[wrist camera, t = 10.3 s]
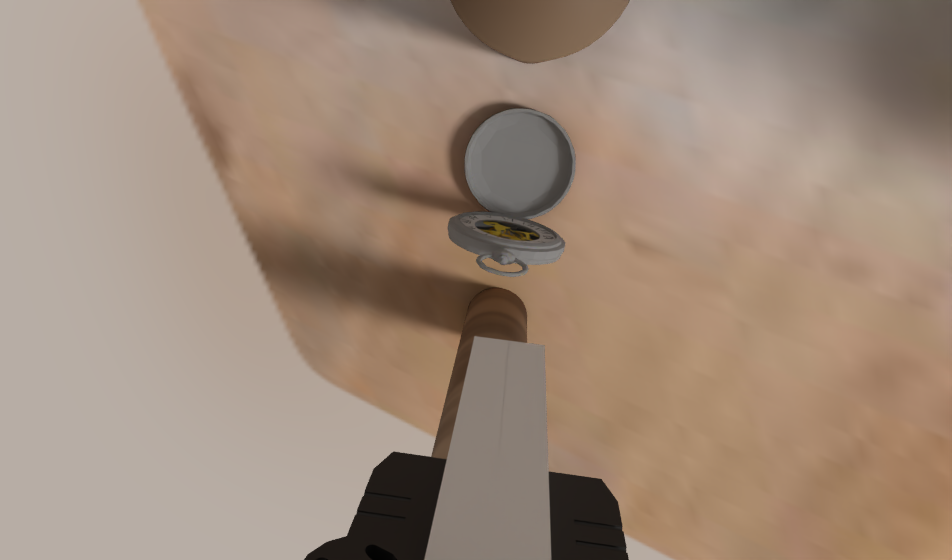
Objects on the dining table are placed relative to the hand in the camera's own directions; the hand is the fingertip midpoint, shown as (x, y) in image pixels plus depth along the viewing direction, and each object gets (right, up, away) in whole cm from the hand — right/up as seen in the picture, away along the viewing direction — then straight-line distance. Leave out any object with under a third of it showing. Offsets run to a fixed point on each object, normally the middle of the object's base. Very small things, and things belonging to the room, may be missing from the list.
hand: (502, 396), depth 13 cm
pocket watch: (+2, +9, +25) cm, 26 cm away
